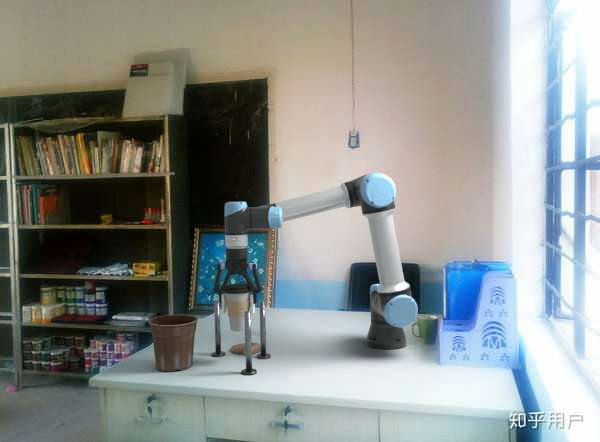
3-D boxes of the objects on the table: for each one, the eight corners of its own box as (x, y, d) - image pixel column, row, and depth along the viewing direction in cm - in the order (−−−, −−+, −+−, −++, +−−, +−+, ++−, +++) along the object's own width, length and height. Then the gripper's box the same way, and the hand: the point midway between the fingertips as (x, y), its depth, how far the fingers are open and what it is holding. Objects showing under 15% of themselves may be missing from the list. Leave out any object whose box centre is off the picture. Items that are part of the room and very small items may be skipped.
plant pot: (206, 360, 186) (205, 314, 185) (187, 375, 170) (186, 325, 170) (163, 358, 189) (162, 313, 189) (141, 373, 174) (139, 324, 173)
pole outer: (258, 370, 174) (257, 310, 173) (254, 375, 169) (252, 313, 168) (244, 369, 175) (242, 309, 174) (239, 374, 170) (237, 313, 169)
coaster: (267, 346, 202) (267, 343, 202) (258, 355, 190) (258, 352, 190) (237, 344, 205) (237, 342, 204) (226, 353, 193) (226, 351, 193)
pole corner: (272, 355, 190) (270, 299, 189) (268, 359, 185) (267, 302, 184) (258, 354, 191) (257, 299, 190) (254, 358, 186) (253, 302, 185)
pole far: (227, 353, 194) (225, 298, 193) (222, 357, 189) (220, 301, 188) (214, 352, 195) (212, 298, 194) (209, 356, 190) (207, 301, 189)
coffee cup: (249, 332, 175) (247, 287, 175) (221, 332, 177) (220, 287, 176) (255, 325, 185) (254, 283, 184) (229, 325, 186) (228, 283, 185)
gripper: (201, 248, 178) (203, 314, 179) (265, 248, 174) (267, 315, 175) (209, 246, 185) (211, 310, 186) (270, 246, 181) (272, 310, 182)
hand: (238, 312), depth 181 cm, fingers closed on coffee cup, 9 cm apart
